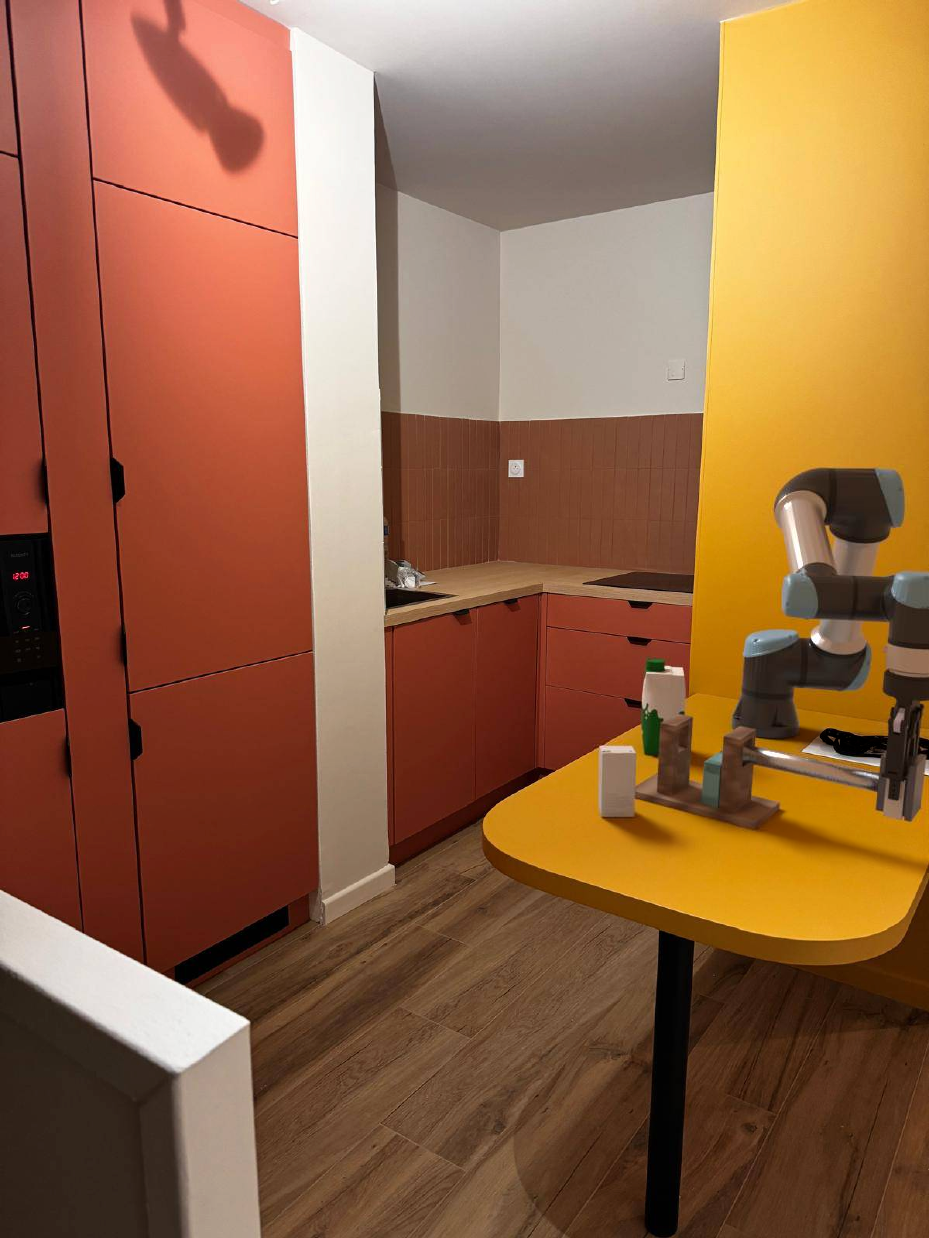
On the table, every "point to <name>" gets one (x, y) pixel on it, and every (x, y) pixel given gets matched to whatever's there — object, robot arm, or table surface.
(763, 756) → the shaft
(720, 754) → the spacer ring
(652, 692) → the milk carton
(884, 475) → the robot arm
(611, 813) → the skincare box
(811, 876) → the table surface
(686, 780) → the bearing stand
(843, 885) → the table surface
